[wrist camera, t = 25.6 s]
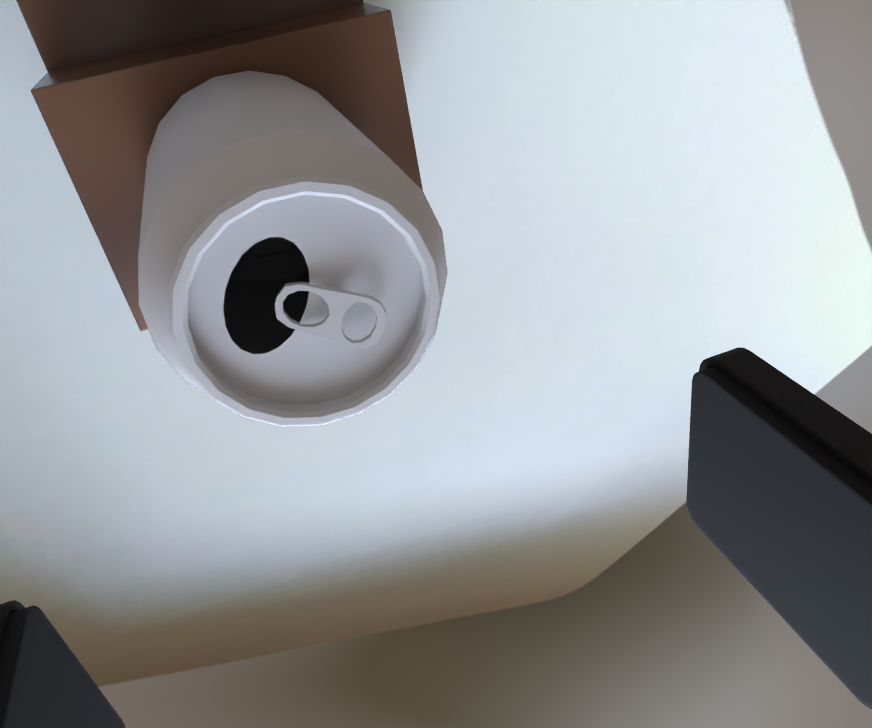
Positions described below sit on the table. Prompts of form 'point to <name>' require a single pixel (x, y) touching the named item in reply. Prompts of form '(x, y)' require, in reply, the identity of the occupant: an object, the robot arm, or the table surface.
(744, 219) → the table surface
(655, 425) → the table surface
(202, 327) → the can
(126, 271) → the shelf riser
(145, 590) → the table surface
